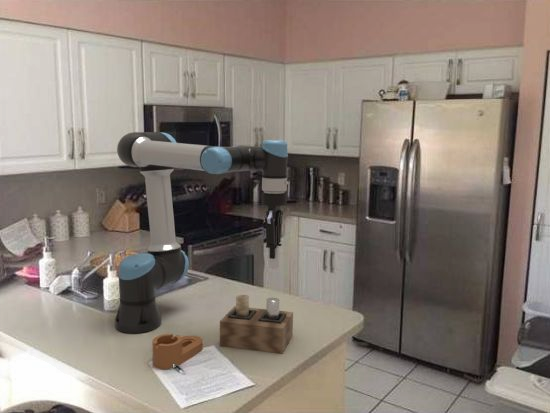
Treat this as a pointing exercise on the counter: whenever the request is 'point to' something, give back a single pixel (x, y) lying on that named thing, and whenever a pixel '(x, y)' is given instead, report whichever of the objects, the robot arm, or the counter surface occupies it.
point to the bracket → (174, 349)
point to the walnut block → (256, 331)
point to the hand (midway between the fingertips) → (273, 267)
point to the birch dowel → (242, 305)
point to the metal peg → (272, 309)
